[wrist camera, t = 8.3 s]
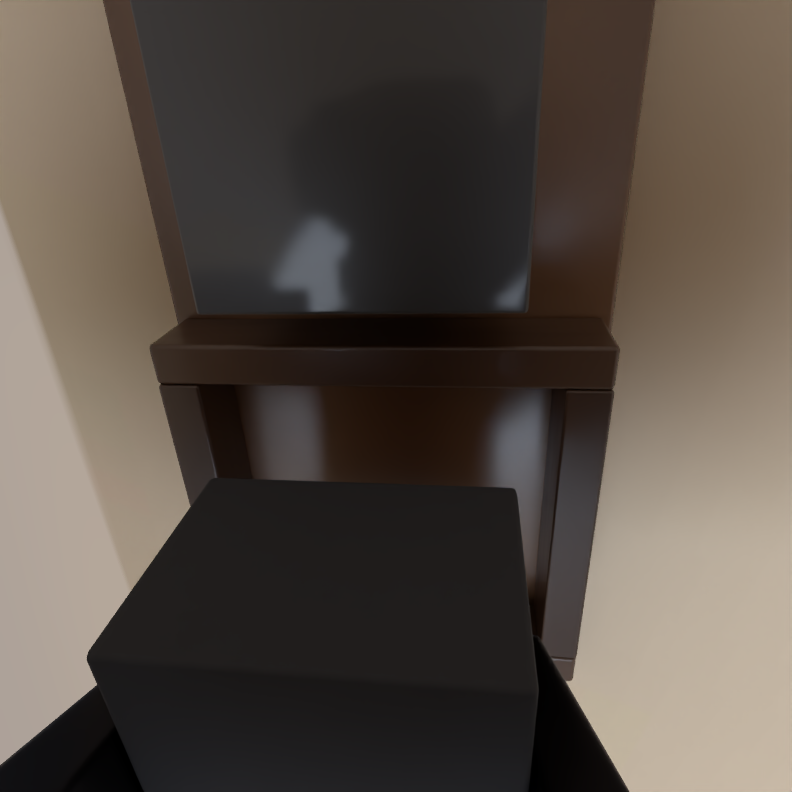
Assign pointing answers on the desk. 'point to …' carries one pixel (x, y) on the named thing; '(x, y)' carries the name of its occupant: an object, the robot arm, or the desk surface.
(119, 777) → the robot arm
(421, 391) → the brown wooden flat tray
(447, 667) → the black cube
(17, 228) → the desk surface
